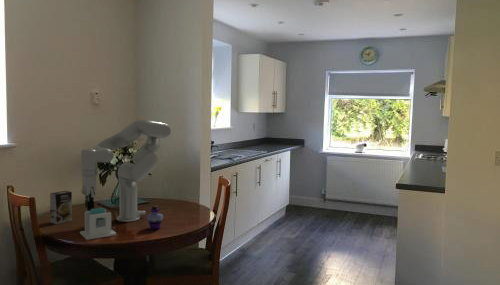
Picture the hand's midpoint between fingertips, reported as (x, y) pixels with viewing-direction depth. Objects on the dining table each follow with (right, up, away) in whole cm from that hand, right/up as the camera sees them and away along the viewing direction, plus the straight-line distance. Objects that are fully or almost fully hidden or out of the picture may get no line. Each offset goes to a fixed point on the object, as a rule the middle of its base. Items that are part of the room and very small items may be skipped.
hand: (89, 207), depth 210 cm
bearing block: (+8, -11, -11) cm, 18 cm away
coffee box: (-19, -9, +10) cm, 24 cm away
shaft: (+5, -5, -7) cm, 10 cm away
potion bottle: (+34, -11, 0) cm, 36 cm away
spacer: (+9, -3, -12) cm, 15 cm away
